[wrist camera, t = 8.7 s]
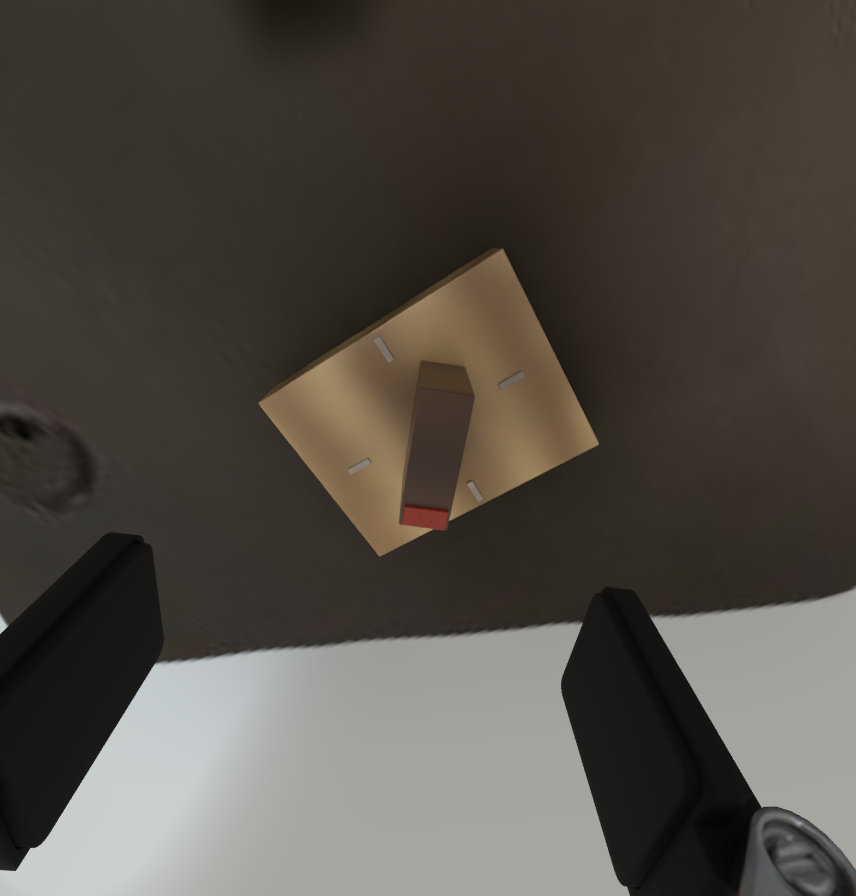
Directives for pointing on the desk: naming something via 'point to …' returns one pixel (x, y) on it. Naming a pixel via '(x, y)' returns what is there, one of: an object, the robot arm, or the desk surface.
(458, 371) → the arm
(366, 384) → the wooden dial board
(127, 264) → the desk surface
